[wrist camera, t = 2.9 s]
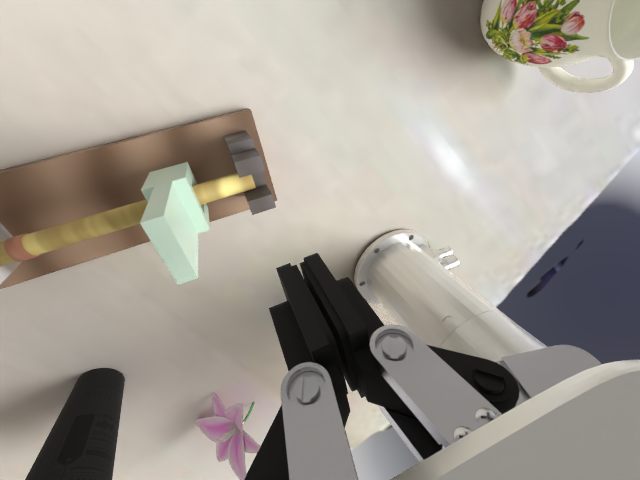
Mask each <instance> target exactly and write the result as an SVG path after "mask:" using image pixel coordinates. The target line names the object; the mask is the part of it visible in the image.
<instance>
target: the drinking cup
mask: <svg viewBox="0 0 640 480" xmlns="http://www.w3.org/2000/svg"><path fill="white" fill-rule="evenodd" d="M124 381H125V379H124V376H123V374H122V373H120V372H119V371H117V370H114V369H109V368H100V369H94V370H91V371H88V372H86V373H85V374H83V375H82V376H81V377H80V378H79V379H78V381H77V382H76V384H75V386H74V388H73V390H72V392H71V394H70V396H69V398H68V400H67V401H66V403H65V405H64V407H63V409H62V411H61V413H60V415H59V417H58V419H57V420H56V422H55V424H54V426H53V428H52V430H51V432H50V434H49V436H48V437H47V439H46V441H45V443H44V445H43V447H42V449H41V451H40V453H39V455H38V456H37V458H36V460H35V462H34V464H33V466H32V468H31V470H30V472H29V473H28V475H27V477H26V479H25V480H112V476H113V468H114V460H115V452H116V444H117V436H118V428H119V420H120V412H121V405H122V397H123V389H124Z"/></svg>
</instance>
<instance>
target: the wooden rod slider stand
mask: <svg viewBox="0 0 640 480" xmlns="http://www.w3.org/2000/svg"><path fill="white" fill-rule="evenodd" d="M185 162H188V164H189V166H190V169H191V171H192V173H193V175H194V178H195V180H196V182H197V185H194V186H192V188H193V190H194V192H195V194H196V196H197V198H198V201H199V203H200V205H202V204H205V203H206V204H207V207H208V211H209V222H211V221H214V220H217V219H221V218H224V217H227V216H230V215H233V214H236V213H239V212H242V211H245V210H249V209H250V210H251V212H252V215H254V214H257V213H260V212H263V211H266V210H269V209H272V208H275V207H276V206H275V202H274V201H277V198H276V194H275V191H274V188H273V184H272V181H271V177H270V174H269V170H268V167H267V163H266V160H265V157H264V153H263V150H262V146H261V143H260V139H259V136H258V132H257V129H256V126H255V122H254V119H253V115H252V112H251V110H250V109H245V110H241V111H237V112H233V113H229V114H225V115H221V116H217V117H213V118H209V119H205V120H201V121H197V122H193V123H189V124H185V125H181V126H177V127H173V128H169V129H165V130H161V131H157V132H153V133H149V134H145V135H141V136H137V137H133V138H128V139H124V140H120V141H116V142H112V143H108V144H104V145H100V146H96V147H92V148H88V149H84V150H80V151H76V152H72V153H68V154H64V155H60V156H56V157H52V158H48V159H44V160H40V161H36V162H32V163H28V164H24V165H20V166H16V167H12V168H8V169H4V170H0V289H2V288H5V287H8V286H12V285H15V284H18V283H21V282H24V281H27V280H30V279H33V278H37V277H40V276H43V275H46V274H49V273H52V272H55V271H58V270H61V269H65V268H68V267H71V266H74V265H77V264H80V263H83V262H86V261H90V260H93V259H96V258H99V257H102V256H105V255H108V254H111V253H114V252H118V251H121V250H124V249H127V248H130V247H133V246H136V245H139V244H143V243H146V242H149V241H151V240H150V239H149V237H148V236H147V234H146V232H145V231H144V229H143V227H142V226H141V224H140V221H141V219H142V216H143V214H144V211H145V209H146V206H147V204H148V202H147V200H146V198H145V197H144V195H143V193H142V191H141V189H142V187H143V185H144V183H145V181H146V179H147V177H148V175H149V173H150V172H152V171H156V170H160V169H163V168H167V167H170V166H174V165H178V164H181V163H185Z"/></svg>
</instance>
